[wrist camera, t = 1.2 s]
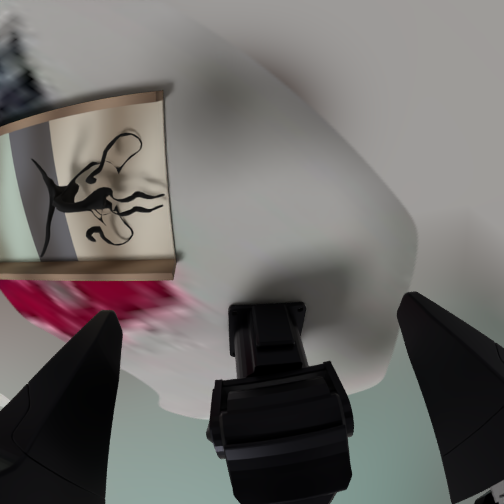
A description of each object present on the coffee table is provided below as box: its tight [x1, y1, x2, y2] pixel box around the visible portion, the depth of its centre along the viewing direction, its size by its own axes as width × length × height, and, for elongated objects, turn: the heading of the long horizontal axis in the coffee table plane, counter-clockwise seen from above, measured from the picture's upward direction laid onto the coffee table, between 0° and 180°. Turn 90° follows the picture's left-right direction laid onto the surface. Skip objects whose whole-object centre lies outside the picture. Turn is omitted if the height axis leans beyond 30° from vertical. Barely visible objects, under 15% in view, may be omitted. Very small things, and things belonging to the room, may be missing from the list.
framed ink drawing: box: [0, 91, 176, 281], centre depth 16 cm, size 24×12×2 cm, turn 88°
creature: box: [31, 133, 165, 257], centre depth 15 cm, size 8×5×8 cm
